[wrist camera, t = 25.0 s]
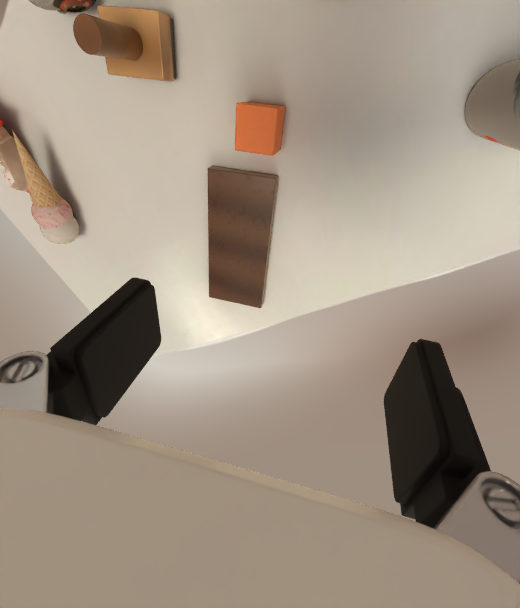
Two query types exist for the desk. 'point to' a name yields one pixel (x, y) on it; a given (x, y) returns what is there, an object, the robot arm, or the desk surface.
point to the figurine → (11, 161)
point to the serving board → (239, 233)
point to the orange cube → (259, 127)
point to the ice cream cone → (47, 202)
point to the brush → (130, 41)
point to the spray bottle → (497, 105)
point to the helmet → (64, 5)
